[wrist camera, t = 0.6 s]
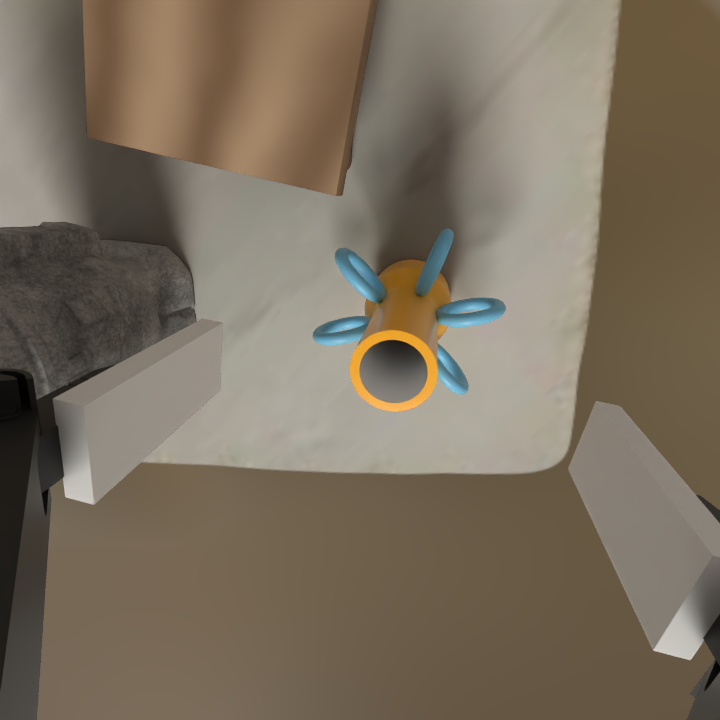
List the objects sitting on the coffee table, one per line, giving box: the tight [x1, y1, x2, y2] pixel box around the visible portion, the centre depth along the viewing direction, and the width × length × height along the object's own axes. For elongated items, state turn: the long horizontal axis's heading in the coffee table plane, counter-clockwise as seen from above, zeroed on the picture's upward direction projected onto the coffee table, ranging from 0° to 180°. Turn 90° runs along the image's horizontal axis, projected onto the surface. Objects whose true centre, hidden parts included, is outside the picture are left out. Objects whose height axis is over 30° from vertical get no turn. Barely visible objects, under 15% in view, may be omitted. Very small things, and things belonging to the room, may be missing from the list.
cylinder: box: [313, 229, 506, 411], centre depth 27 cm, size 12×10×15 cm
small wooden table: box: [82, 0, 378, 196], centre depth 25 cm, size 15×15×8 cm
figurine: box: [0, 222, 196, 399], centre depth 26 cm, size 10×14×25 cm
